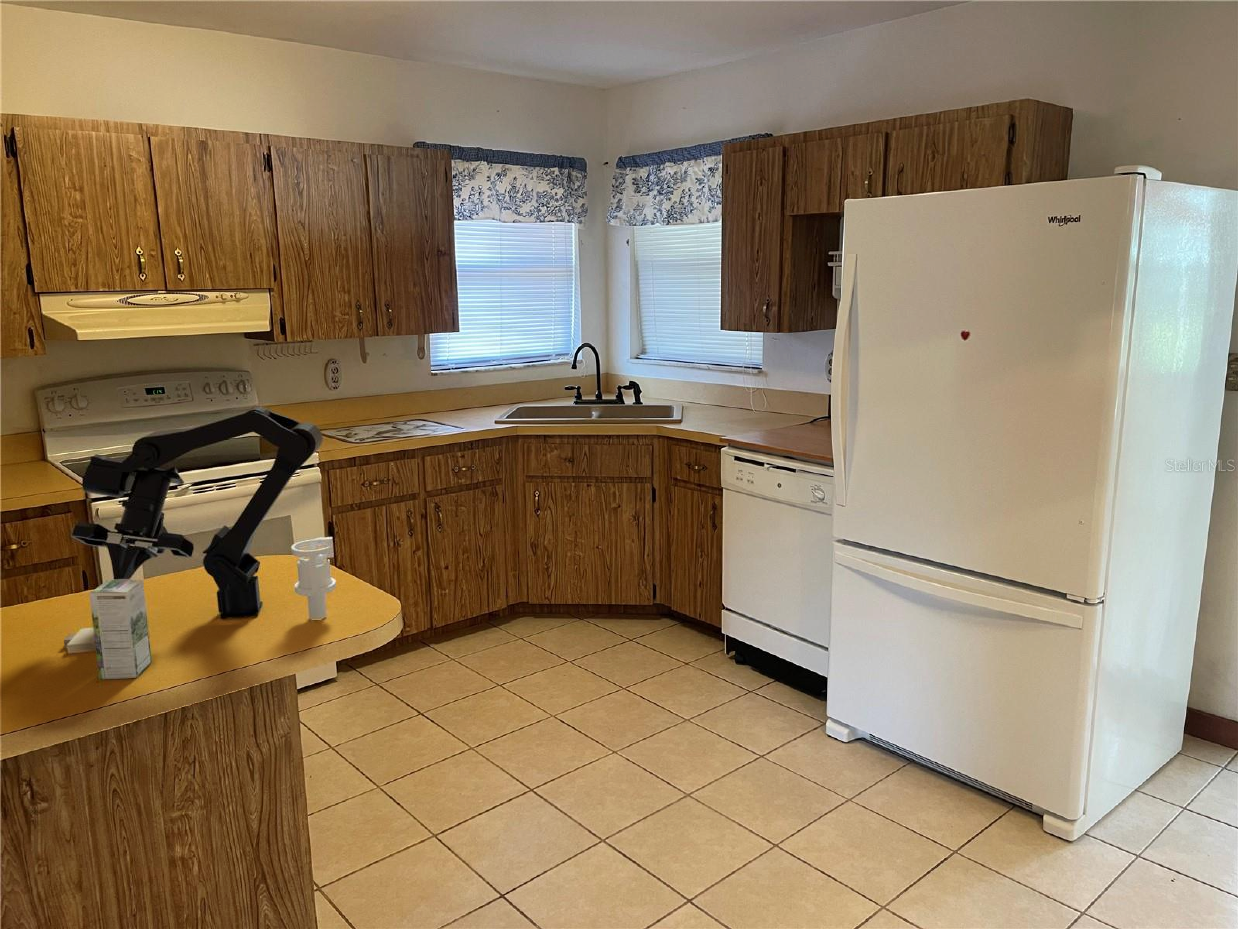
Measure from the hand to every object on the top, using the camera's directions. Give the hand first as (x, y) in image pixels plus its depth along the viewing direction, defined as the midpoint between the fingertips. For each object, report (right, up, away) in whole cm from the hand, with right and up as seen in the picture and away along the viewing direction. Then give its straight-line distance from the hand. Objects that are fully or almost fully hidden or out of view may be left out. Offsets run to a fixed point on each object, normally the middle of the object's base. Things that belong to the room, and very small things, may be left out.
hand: (118, 588), depth 152 cm
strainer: (+30, -7, +11) cm, 33 cm away
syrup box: (+7, -12, -10) cm, 17 cm away
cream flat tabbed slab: (-3, -9, +1) cm, 10 cm away
